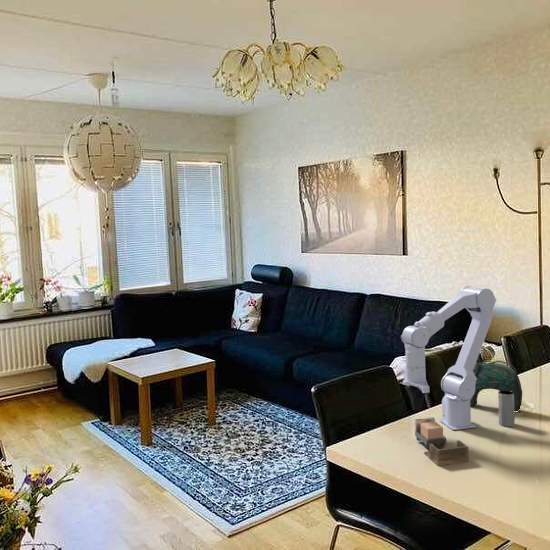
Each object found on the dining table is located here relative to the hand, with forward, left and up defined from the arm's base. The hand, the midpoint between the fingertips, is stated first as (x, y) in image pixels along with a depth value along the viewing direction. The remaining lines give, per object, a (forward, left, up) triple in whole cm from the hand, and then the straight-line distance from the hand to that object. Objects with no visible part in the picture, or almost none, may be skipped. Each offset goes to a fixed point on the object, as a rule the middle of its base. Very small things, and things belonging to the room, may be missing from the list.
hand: (416, 409), depth 178 cm
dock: (+19, 0, -8) cm, 20 cm away
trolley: (+9, 0, -8) cm, 12 cm away
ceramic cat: (-15, +33, -8) cm, 37 cm away
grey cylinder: (+1, +29, -8) cm, 30 cm away
